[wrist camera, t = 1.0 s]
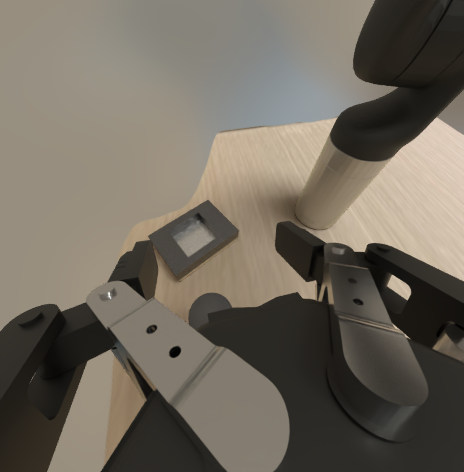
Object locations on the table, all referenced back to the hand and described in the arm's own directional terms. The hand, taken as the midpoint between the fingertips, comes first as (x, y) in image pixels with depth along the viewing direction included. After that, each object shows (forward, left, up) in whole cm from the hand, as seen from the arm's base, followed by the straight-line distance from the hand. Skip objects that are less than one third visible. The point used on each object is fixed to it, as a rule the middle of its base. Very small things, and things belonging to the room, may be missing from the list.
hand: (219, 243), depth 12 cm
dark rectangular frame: (-3, -14, -23) cm, 27 cm away
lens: (+3, +1, -23) cm, 23 cm away
